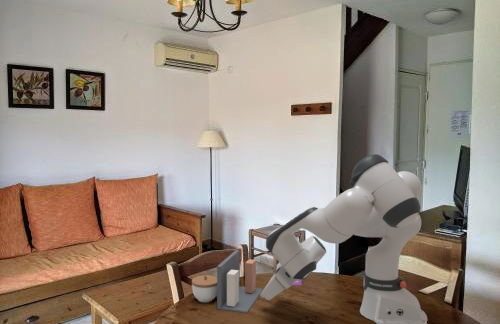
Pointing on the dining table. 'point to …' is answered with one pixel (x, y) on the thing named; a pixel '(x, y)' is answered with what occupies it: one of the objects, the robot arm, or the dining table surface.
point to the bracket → (298, 282)
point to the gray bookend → (244, 298)
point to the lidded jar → (204, 287)
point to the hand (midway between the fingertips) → (262, 295)
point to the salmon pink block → (250, 276)
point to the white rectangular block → (232, 287)
